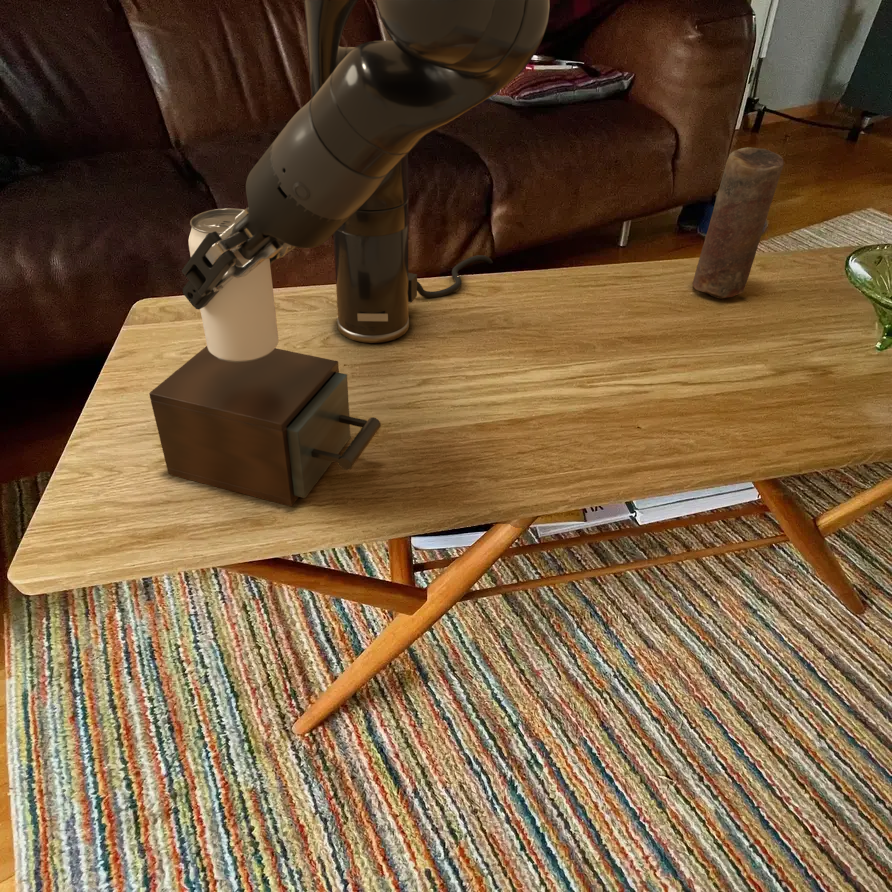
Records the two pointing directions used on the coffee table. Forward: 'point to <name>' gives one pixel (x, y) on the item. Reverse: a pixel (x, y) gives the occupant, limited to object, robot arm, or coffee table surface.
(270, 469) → the cabinet
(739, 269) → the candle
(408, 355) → the coffee table surface
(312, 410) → the drawer
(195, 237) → the can
